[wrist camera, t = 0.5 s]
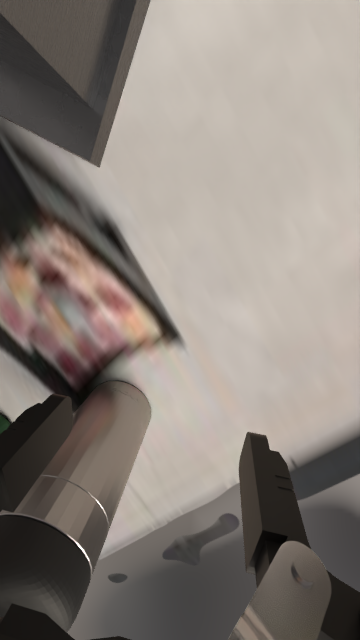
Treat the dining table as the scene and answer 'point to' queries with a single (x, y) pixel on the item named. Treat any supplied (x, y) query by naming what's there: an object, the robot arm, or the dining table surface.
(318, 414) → the dining table surface
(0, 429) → the coffee jar
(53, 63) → the dark gray pedestal stand
